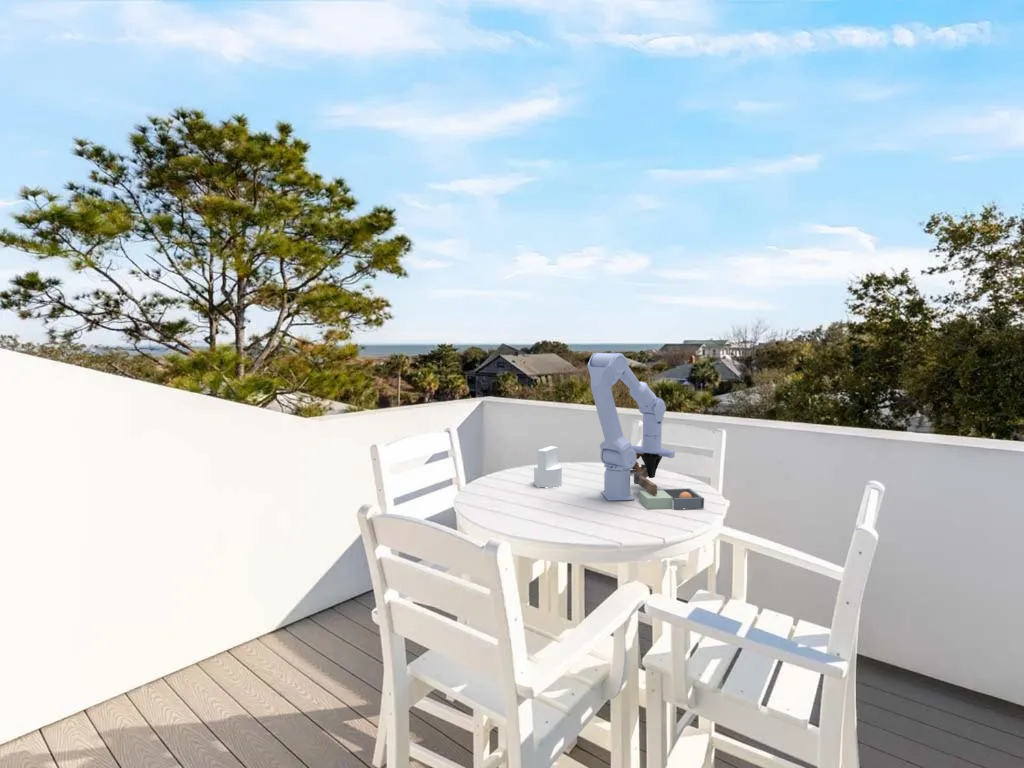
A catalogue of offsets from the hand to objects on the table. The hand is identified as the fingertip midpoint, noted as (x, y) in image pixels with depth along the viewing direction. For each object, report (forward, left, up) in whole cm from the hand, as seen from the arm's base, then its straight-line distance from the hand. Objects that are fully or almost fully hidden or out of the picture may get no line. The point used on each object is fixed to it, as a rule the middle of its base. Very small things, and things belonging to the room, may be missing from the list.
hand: (651, 477), depth 189 cm
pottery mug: (-21, 0, -4) cm, 22 cm away
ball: (+18, +4, -2) cm, 18 cm away
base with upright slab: (-8, -32, -4) cm, 33 cm away
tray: (+17, +4, -4) cm, 18 cm away
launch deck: (+17, -4, -4) cm, 18 cm away
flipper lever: (+8, -3, 0) cm, 8 cm away
